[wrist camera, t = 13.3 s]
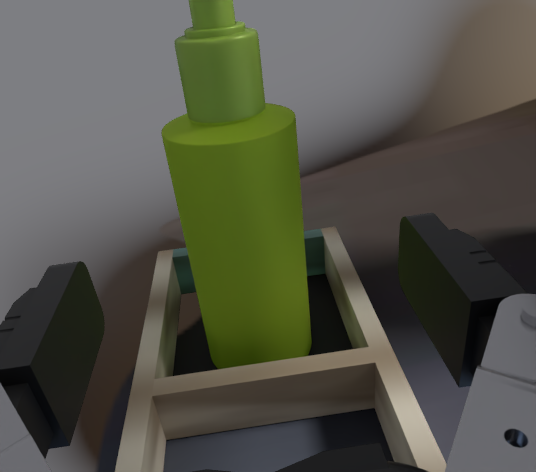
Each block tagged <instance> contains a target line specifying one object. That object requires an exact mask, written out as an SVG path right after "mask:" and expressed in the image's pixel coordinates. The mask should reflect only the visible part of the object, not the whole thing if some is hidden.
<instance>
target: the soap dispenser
mask: <svg viewBox="0 0 536 472" xmlns="http://www.w3.org/2000/svg"><path fill="white" fill-rule="evenodd" d="M189 5H190V11H191V17H192V23H193V27H190V28H188V29H186V30H185V31H184V32H185V35H184V36H181V37H179V38H177V39H176V40H175V49H176V55H177V59H178V65H179V71H180V76H181V81H182V86H183V92H184V97H185V103H186V108H187V114H185V115H183V116H180V117H178V118H176V119H174V120H172V121H171V122H169V123H168V124H166V125H165V126H164V128H163V129H162V137H163V143H164V147H165V152H166V156H167V161H168V165H169V169H170V174H171V178H172V183H173V188H174V192H175V197H176V201H177V206H178V210H179V215H180V220H181V224H182V229H183V233H184V238H185V242H186V247H187V251H188V256H189V260H190V265H191V269H192V274H193V278H194V283H195V288H196V292H197V297H198V301H199V306H200V310H201V315H202V319H203V324H204V328H205V333H206V337H207V342H208V346H209V351H210V355H211V359H212V361H213V363H214V365H215V366H216V367H217V368H218V369H224V368H231V367H238V366H244V365H251V364H258V363H264V362H271V361H278V360H285V359H291V358H298V357H305V356H308V354H309V352H310V349H311V344H312V339H311V325H310V311H309V297H308V284H307V270H306V256H305V242H304V229H303V215H302V201H301V187H300V173H299V161H298V146H297V133H296V118H295V114H294V112H293V111H292V110H290V109H289V108H286V107H283V106H280V105H275V104H268V103H265V97H264V88H263V78H262V68H261V59H260V49H259V39H258V33H257V31H256V30H255V29H252V28H245V23H243V22H235V16H234V7H233V0H189Z"/></svg>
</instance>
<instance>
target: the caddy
mask: <svg viewBox="0 0 536 472" xmlns="http://www.w3.org/2000/svg"><path fill="white" fill-rule="evenodd" d="M304 242H305V256H306V270H307V276H311V275H318V274H325V273H326V276H327V279H328V282H329V284H330V287H331V290H332V293H333V295H334V298H335V301H336V304H337V306H338V309H339V312H340V315H341V317H342V320H343V323H344V325H345V328H346V331H347V334H348V336H349V339H350V342H351V345H352V347H353V349H351V350H345V351H338V352H331V353H325V354H318V355H311V356H305V357H298V358H291V359H285V360H278V361H271V362H264V363H258V364H251V365H244V366H238V367H231V368H224V369H218V370H211V371H204V372H198V373H191V374H184V375H178V376H173V370H174V360H175V350H176V340H177V331H178V321H179V311H180V300H181V294H186V293H193V292H196V288H195V283H194V278H193V274H192V269H191V265H190V260H189V256H188V251H187V248H181V249H174V250H166V251H160V252H158V257H157V262H156V267H155V272H154V277H153V282H152V287H151V292H150V297H149V302H148V307H147V312H146V317H145V322H144V327H143V332H142V337H141V342H140V347H139V352H138V357H137V362H136V367H135V372H134V377H133V382H132V387H131V392H130V397H129V402H128V408H127V413H126V418H125V423H124V428H123V433H122V438H121V443H120V448H119V453H118V458H117V463H116V468H115V472H163V467H164V457H165V448H166V440H170V439H176V438H183V437H189V436H196V435H202V434H209V433H215V432H222V431H228V430H235V429H241V428H248V427H254V426H261V425H267V424H274V423H280V422H287V421H293V420H300V419H306V418H313V417H319V416H325V415H332V414H338V413H345V412H351V411H358V410H364V409H371V408H375V410H376V413H377V416H378V419H379V421H380V424H381V427H382V430H383V432H384V435H385V438H386V441H387V443H388V446H389V449H390V452H391V454H392V457H393V460H394V462H399V463H404V464H408V465H412V466H415V467H418V468H421V469H424V470H426V471H429V472H445V469H446V466H447V464H446V462H445V460H444V458H443V456H442V454H441V452H440V450H439V447H438V445H437V443H436V441H435V439H434V437H433V435H432V432H431V430H430V428H429V426H428V424H427V422H426V420H425V418H424V415H423V413H422V411H421V409H420V407H419V405H418V403H417V400H416V398H415V396H414V394H413V392H412V390H411V388H410V385H409V383H408V381H407V379H406V377H405V375H404V373H403V371H402V368H401V366H400V364H399V362H398V360H397V358H396V356H395V353H394V351H393V349H392V347H391V345H390V343H389V341H388V339H387V336H386V334H385V332H384V330H383V328H382V326H381V324H380V321H379V319H378V317H377V315H376V313H375V311H374V309H373V307H372V304H371V302H370V300H369V298H368V296H367V294H366V292H365V289H364V287H363V285H362V283H361V281H360V279H359V277H358V274H357V272H356V270H355V268H354V266H353V264H352V262H351V260H350V257H349V255H348V253H347V251H346V249H345V247H344V245H343V242H342V240H341V238H340V236H339V234H338V232H337V230H336V228H335V227H330V228H323V229H316V230H309V231H304Z"/></svg>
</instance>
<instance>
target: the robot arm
mask: <svg viewBox="0 0 536 472" xmlns="http://www.w3.org/2000/svg"><path fill="white" fill-rule="evenodd" d="M398 274H399V280H400V284H401V288H402V290H403V292H404V294H405V296H406V297H407V299H408V301H409V303H410V304H411V306H412V308H413V309H414V311H415V313H416V315H417V316H418V318H419V320H420V321H421V323H422V325H423V327H424V328H425V330H426V332H427V333H428V335H429V337H430V339H431V340H432V342H433V344H434V345H435V347H436V349H437V351H438V352H439V354H440V356H441V357H442V359H443V361H444V363H445V364H446V366H447V368H448V369H449V371H450V373H451V375H452V376H453V378H454V380H455V381H456V383H457V385H458V387H466V386H471V387H470V391H469V394H468V397H467V400H466V404H465V407H464V410H463V413H462V417H461V420H460V423H459V427H458V430H457V433H456V436H455V440H454V443H453V446H452V449H451V453H450V456H449V459H448V462H447V466H446V469H445V472H536V294H528V293H527V292H526V291H525V290H524V289H523V288H522V287H521V286H520V285H519V284H518V283H517V282H516V281H515V279H514V278H513V277H512V276H511V275H510V274H509V273H508V272H507V271H506V270H505V269H504V268H503V267H502V266H501V265H500V264H499V263H498V262H496V261H495V259H494V258H493V257H492V256H491V255H490V254H489V253H488V252H486V249H485V248H484V247H483V246H482V245H481V244H480V243H479V242H478V241H477V240H476V239H475V238H474V237H472V236H470V235H468V234H466V233H464V232H462V231H460V230H458V229H452V230H449V229H448V228H447V227H446V226H445V225H444V224H443V223H442V222H441V221H440V219H439V218H438V217H437V216H436V215H435V214H434V213H427V214H420V215H413V216H406V217H403V218H402V219H401V222H400V234H399V258H398ZM103 334H104V316H103V312H102V308H101V305H100V303H99V300H98V297H97V294H96V291H95V289H94V286H93V283H92V280H91V277H90V275H89V272H88V269H87V267H86V265H85V264H84V263H83V262H81V261H80V262H73V263H66V264H58V265H52V266H49V267H48V269H47V271H46V272H45V274H44V276H43V278H42V279H41V281H40V283H39V285H38V287H37V288H30V289H29V290H28V291H27V292H26V293H24V294H23V295H22V296H21V297H20V298H19V299H18V300H16V301H15V302H14V303H13V305H12V307H11V309H10V310H9V312H8V313H7V315H6V317H5V321H3V322H2V324H1V325H0V472H52V471H51V469H50V468H49V466H48V464H47V463H46V461H45V458H46V455H47V452H48V449H50V448H57V447H64V446H70V443H71V440H72V436H73V433H74V430H75V427H76V423H77V420H78V417H79V414H80V410H81V407H82V404H83V400H84V397H85V394H86V390H87V387H88V384H89V380H90V377H91V374H92V371H93V367H94V364H95V361H96V357H97V354H98V351H99V348H100V344H101V341H102V338H103ZM194 472H229V471H218V470H207V469H206V470H200V471H194ZM276 472H429V471H426V470H424V469H421V468H418V467H415V466H412V465H408V464H404V463H399V462H393V461H386V458H385V455H384V452H383V449H382V447H381V444H380V442H379V443H373V444H366V445H360V446H354V447H347V448H341V449H334V450H328V451H323V452H321V453H318V454H316V455H314V456H311V457H309V458H307V459H304V460H302V461H299V462H297V463H295V464H292V465H290V466H287V467H285V468H283V469H280V470H278V471H276Z"/></svg>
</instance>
